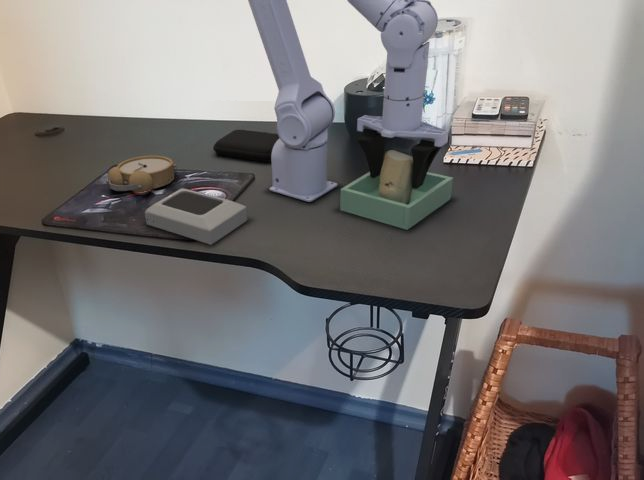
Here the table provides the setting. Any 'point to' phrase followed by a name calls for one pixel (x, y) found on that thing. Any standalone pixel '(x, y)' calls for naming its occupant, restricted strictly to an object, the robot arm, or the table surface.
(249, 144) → the carrying case
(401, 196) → the beige lumpy block
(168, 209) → the grey box with screen
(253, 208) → the table surface
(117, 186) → the alarm clock
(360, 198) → the basin
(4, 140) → the table surface
